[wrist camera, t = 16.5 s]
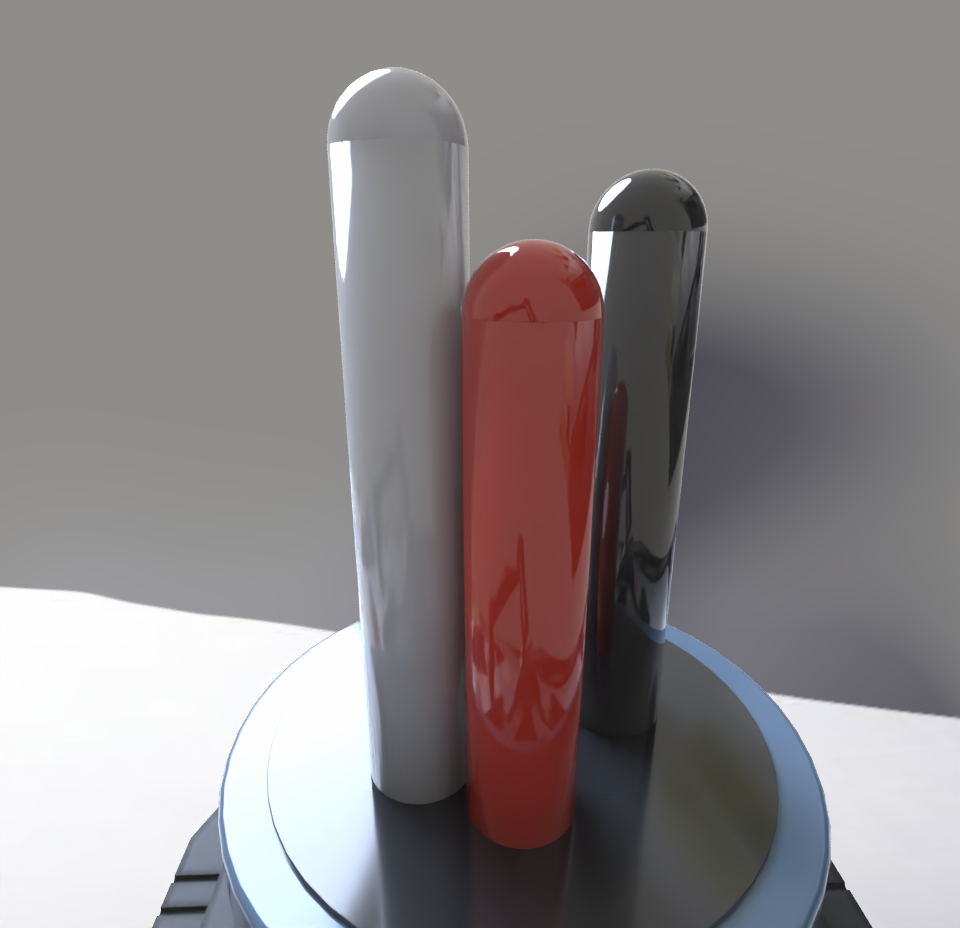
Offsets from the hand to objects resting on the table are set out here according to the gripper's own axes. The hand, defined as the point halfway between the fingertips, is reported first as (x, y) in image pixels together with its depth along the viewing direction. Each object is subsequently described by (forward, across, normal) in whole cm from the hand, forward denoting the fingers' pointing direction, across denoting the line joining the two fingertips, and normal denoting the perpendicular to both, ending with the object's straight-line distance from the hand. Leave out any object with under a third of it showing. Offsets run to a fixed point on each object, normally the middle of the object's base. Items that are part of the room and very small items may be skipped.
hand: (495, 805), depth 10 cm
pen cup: (-3, 0, +6) cm, 7 cm away
